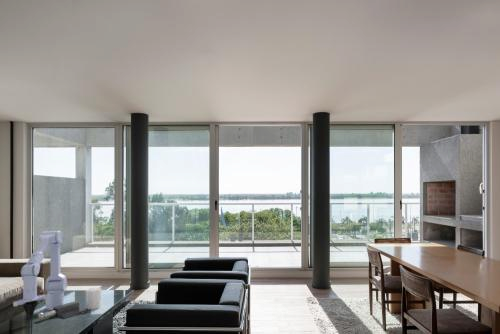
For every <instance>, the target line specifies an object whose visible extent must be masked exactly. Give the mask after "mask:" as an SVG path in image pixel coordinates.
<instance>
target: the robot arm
mask: <svg viewBox="0 0 500 334" xmlns="http://www.w3.org/2000/svg"><path fill="white" fill-rule="evenodd" d="M38 239H39V242H38V245H37V248H36V250H35V251H34V252H32V253H31V256H29V259H28V261H27V262H26V264H24V265H22V266H21V270H20V275H21V279H22V281H23V282H22V283H23V288H22V292H23V293H22V294H23V295H22V299H19V300H15V301H13V302H12V303H13V304H12V305H13V307H18V306H22V308H23V309H24V311H25V314H26V318H27V319H32V318H33V317H34V312H35V310H36V307H37V306H38V304H39V302H38V301H41V300H45V307H44V308H43V309H44V310H49V311H53V307H56V306H59V305H63V304H65V302H64V299H65V297H64V294H65V291H66V290H67V288H68V280H67V276H66V275H64V274H63V273H62V271H61V269H62V268H61V267H62V266H61V264H62V263H61V245H62V244H63V233H62V231H60V230H50V231H49V230H46V231H45V230H43V231H41V232H40V234H39V238H38ZM48 247H49V252H50V254H49V255H50V275H49V276H48V277H47V278H46V281H45V285H44V286H45V290H46V292H47V294H41V295H38V288H37V287H38V275H39V273H40V270H41V269H40V268H41V263H42V261H43V260H44V258H45V256H44V253H45V251H46V250H47V248H48Z"/></svg>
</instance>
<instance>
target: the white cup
mask: <svg viewBox="0 0 500 334" xmlns="http://www.w3.org/2000/svg"><path fill="white" fill-rule="evenodd" d="M101 299H102V287H90V288H86V290H85V300H86V310H95V309H96V310H97V309H99V308H101V301H102V300H101Z"/></svg>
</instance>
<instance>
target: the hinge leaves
mask: <svg viewBox="0 0 500 334" xmlns="http://www.w3.org/2000/svg"><path fill="white" fill-rule="evenodd" d="M53 310H57V315H53V316H52V317H55V316H56V317H57V318H61V319H68V318H71V317H74V316H73V315H75V316H77V315H76V314H78V315H80V314H79V313H81V314H83V313H82V312H84V313H86V312H87V308H85V309H84V308H80V302H79V301H70V302H68V303H64V304H63V305H59V306H56V307H53ZM53 310H52V311H53ZM50 311H51V310H49V311H48V312H50Z"/></svg>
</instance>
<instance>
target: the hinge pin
mask: <svg viewBox="0 0 500 334" xmlns="http://www.w3.org/2000/svg"><path fill="white" fill-rule="evenodd" d="M49 311H50V312H49ZM49 311H46V312H39V313H38V314H37V319H38V320H39V321H43V320H44V319H46V318H49V317H54V316H53V315H56V316H57V310H49Z"/></svg>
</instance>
